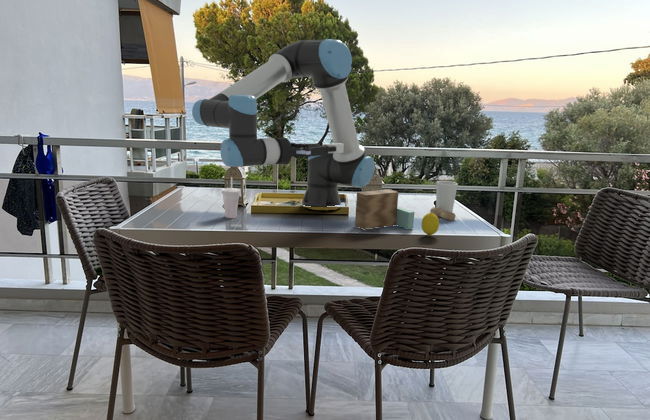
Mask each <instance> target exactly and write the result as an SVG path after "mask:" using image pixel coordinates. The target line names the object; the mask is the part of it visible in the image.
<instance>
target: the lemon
mask: <svg viewBox="0 0 650 420" xmlns="http://www.w3.org/2000/svg"><path fill="white" fill-rule="evenodd" d="M420 226H421V229H422V232H424V234H426V235H427V236H428V237H431V236H432V235H434V234H436V233H437V232H438V231H439V227H440V220H439V217H438V216H436V215H435V214H433V213H432V212H430V211H429V212H428V213H427V214H425V215H424V216H423V218H422V219H421V225H420Z"/></svg>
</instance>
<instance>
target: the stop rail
mask: <svg viewBox="0 0 650 420" xmlns="http://www.w3.org/2000/svg"><path fill="white" fill-rule="evenodd" d="M414 223H415V211H413V210H411V209H407V208H403V207H401V206H399V205H397V217H396V225H398V226H397V227H399V226H401V227H404V228H407V229H410V230H413V229H414ZM401 227H400V228H401ZM404 228H403V229H404ZM412 228H413V229H412ZM407 229H406V230H407Z"/></svg>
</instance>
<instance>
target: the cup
mask: <svg viewBox="0 0 650 420" xmlns="http://www.w3.org/2000/svg"><path fill="white" fill-rule="evenodd" d="M435 183H436V186H435V187H436V193H435V197H436V199H435V207H436V208H439V209H442V210H445V211H449V212H452V213H454V212H453V211H454V210H453V209H454V205H455V200H456V195H457V190H458V183H457V182H454V181H450V180H449V181H448V180H438V181H436V182H435Z"/></svg>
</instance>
